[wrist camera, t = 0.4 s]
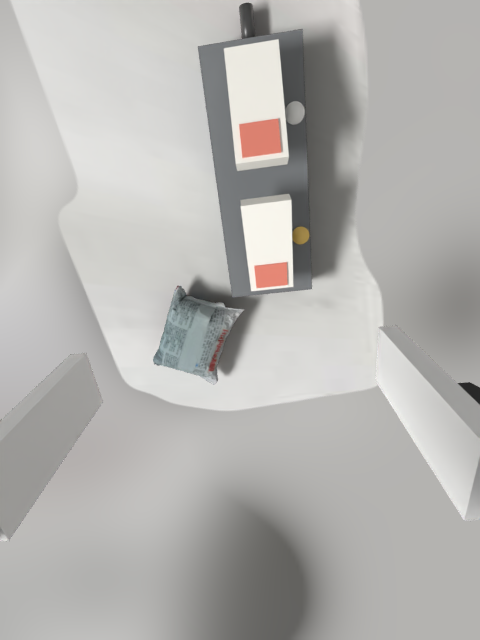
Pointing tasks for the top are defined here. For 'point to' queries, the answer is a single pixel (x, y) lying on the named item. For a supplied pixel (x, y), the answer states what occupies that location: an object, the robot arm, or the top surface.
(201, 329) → the packaged food
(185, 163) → the top surface
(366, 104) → the top surface
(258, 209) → the white switch paddle
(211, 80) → the rocker switch box
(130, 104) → the top surface
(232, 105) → the rocker white
